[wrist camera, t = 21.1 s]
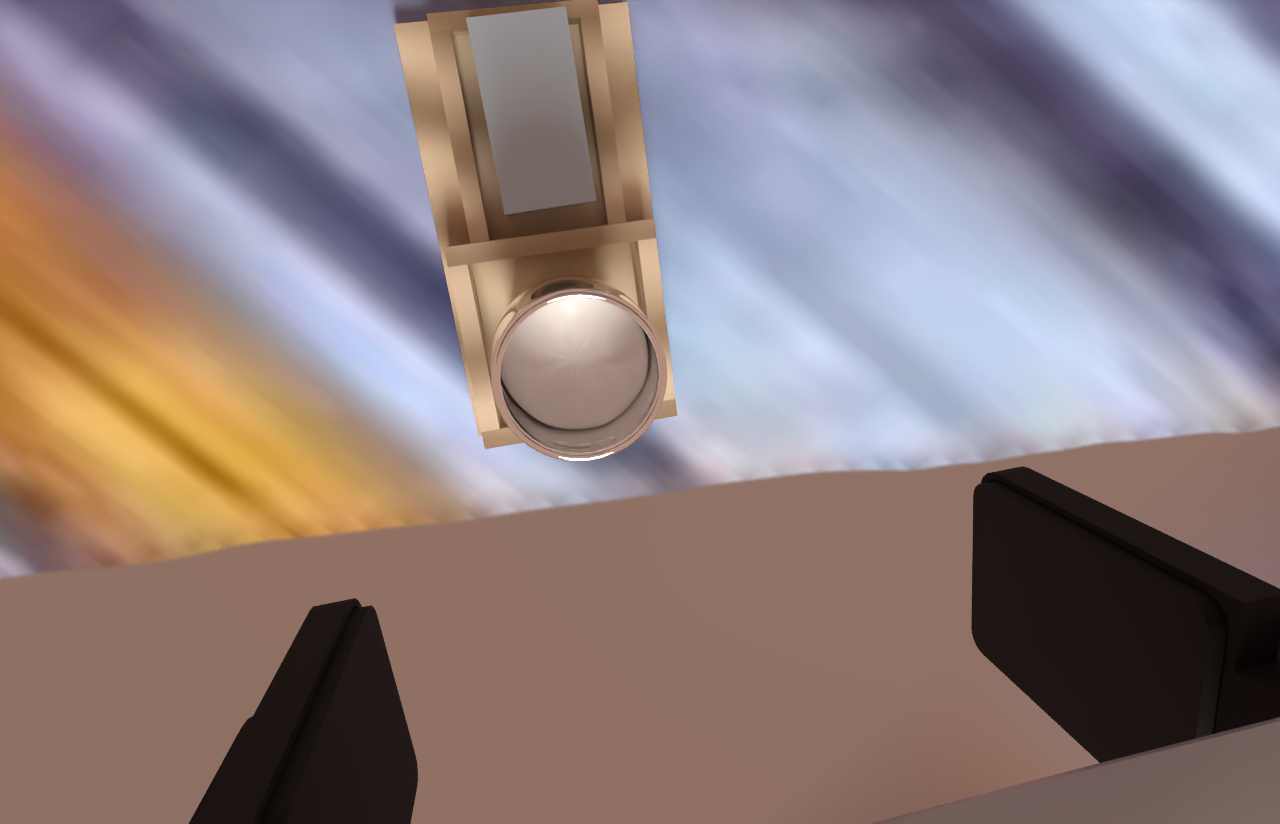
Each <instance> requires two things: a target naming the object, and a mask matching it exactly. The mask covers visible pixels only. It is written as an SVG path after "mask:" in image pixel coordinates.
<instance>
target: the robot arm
mask: <svg viewBox="0 0 1280 824" xmlns="http://www.w3.org/2000/svg"><path fill="white" fill-rule="evenodd" d="M972 635H973V638H974V641H975V643H976V645H977V647H978V649H979V650H980V651H981V652H982V653H983V655H984V656H986V658H988V659H989V660H990V661H991V662H992V663H993V664H994V665H995V666H996V667H997V668H998V669H999V670H1000V671H1002V672H1003V673H1004V674H1005V675H1006V676H1007V677H1008V678H1009V679H1010V680H1011V681H1012V682H1013V683H1014V684H1016V685H1017V686H1018V687H1019V688H1020V689H1021V690H1022V691H1023V692H1024V693H1025V694H1026V695H1028V696H1029V697H1030V698H1031V699H1032V700H1033V701H1034V702H1035V703H1036V704H1037V705H1038V706H1039V707H1040V708H1041V709H1043V710H1044V711H1045V712H1046V713H1047V714H1048V715H1049V716H1050V717H1051V718H1052V719H1053V720H1054V721H1055V722H1057V723H1058V724H1059V725H1060V726H1061V727H1062V728H1063V729H1064V730H1065V731H1066V732H1067V733H1068V734H1069V735H1070V736H1072V737H1073V738H1074V739H1075V740H1076V741H1077V742H1078V743H1079V744H1080V745H1081V746H1082V747H1084V749H1086V750H1087V751H1088V752H1089V753H1090V754H1091V755H1092V756H1093V757H1094V758H1095V759H1096V760H1097V761H1099V762H1100V763H1099V764H1094V765H1091V766H1087V767H1083V768H1079V769H1075V770H1071V771H1067V772H1063V773H1059V774H1055V775H1052V776H1048V777H1044V778H1040V779H1036V780H1032V781H1028V782H1024V783H1020V784H1017V785H1013V786H1009V787H1005V788H1001V789H998V790H994V791H990V792H986V793H982V794H978V795H975V796H971V797H967V798H963V799H959V800H956V801H952V802H948V803H944V804H940V805H936V806H932V807H929V808H925V809H921V810H917V811H913V812H910V813H906V814H902V815H898V816H894V817H891V818H887V819H883V820H879V821H875V822H872V823H868V824H1280V589H1279V588H1277V587H1275V586H1273V585H1271V584H1269V583H1267V582H1264V581H1262V580H1260V579H1258V578H1256V577H1254V576H1252V575H1250V574H1248V573H1246V572H1244V571H1242V570H1240V569H1237V568H1235V567H1233V566H1231V565H1229V564H1227V563H1225V562H1223V561H1221V560H1219V559H1217V558H1214V557H1213V556H1210V555H1208V554H1206V553H1204V552H1202V551H1200V550H1198V549H1196V548H1194V547H1192V546H1190V545H1187V544H1185V543H1183V542H1181V541H1179V540H1177V539H1175V538H1173V537H1171V536H1169V535H1167V534H1164V533H1163V532H1161V531H1158V530H1156V529H1154V528H1152V527H1150V526H1148V525H1146V524H1144V523H1142V522H1139V521H1138V520H1136V519H1133V518H1131V517H1129V516H1127V515H1125V514H1123V513H1121V512H1119V511H1117V510H1115V509H1113V508H1110V507H1108V506H1106V505H1104V504H1102V503H1100V502H1098V501H1096V500H1094V499H1092V498H1090V497H1088V496H1086V495H1083V494H1081V493H1079V492H1077V491H1075V490H1073V489H1071V488H1069V487H1067V486H1064V485H1063V484H1061V483H1058V482H1056V481H1054V480H1052V479H1050V478H1048V477H1046V476H1044V475H1042V474H1040V473H1038V472H1036V471H1034V470H1032V469H1029V468H1026V467H1017V468H1012V469H1007V470H1002V471H998V472H992V473H987V474H986V475H985V476H984V477H983V479H982V481H981V484H979V485H977V486H976V488H975V490H974V495H973V563H972ZM417 781H418V769H417V761H416V756H415V752H414V748H413V745H412V741H411V737H410V734H409V730H408V726H407V723H406V719H405V715H404V712H403V708H402V705H401V701H400V697H399V694H398V690H397V686H396V682H395V679H394V675H393V672H392V668H391V664H390V661H389V657H388V654H387V650H386V646H385V642H384V639H383V635H382V631H381V628H380V624H379V620H378V617H377V614H376V611H375V609H374V607H373V606H366V607H362V606H361V604H360V603H359V601H358V600H357V599H349V600H344V601H339V602H334V603H329V604H324V605H319V606H314V607H312V609H311V610H310V611H309V613H308V615H307V617H306V619H305V621H304V622H303V624H302V626H301V628H300V630H299V632H298V634H297V635H296V637H295V639H294V641H293V643H292V645H291V647H290V648H289V650H288V652H287V654H286V656H285V658H284V660H283V662H282V663H281V665H280V667H279V669H278V671H277V673H276V675H275V676H274V678H273V680H272V682H271V684H270V686H269V688H268V690H267V691H266V693H265V695H264V697H263V699H262V701H261V702H260V704H259V706H258V708H257V710H256V712H255V714H254V716H252V717H251V718H249V719H248V720H247V721H246V722H245V724H244V725H243V727H242V728H241V729H240V732H239V733H238V735H237V737H236V738H235V740H234V742H233V744H232V746H231V748H230V749H229V751H228V753H227V755H226V757H225V759H224V760H223V762H222V764H221V766H220V768H219V770H218V771H217V773H216V775H215V777H214V779H213V780H212V782H211V784H210V786H209V788H208V790H207V791H206V793H205V795H204V797H203V799H202V800H201V802H200V804H199V806H198V808H197V810H196V811H195V813H194V815H193V817H192V819H191V821H190V822H189V824H410V823H411V817H412V811H413V806H414V801H415V795H416V789H417Z"/></svg>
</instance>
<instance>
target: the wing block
mask: <svg viewBox="0 0 1280 824" xmlns="http://www.w3.org/2000/svg"><path fill="white" fill-rule="evenodd" d="M466 21H467V26H468V31H469V36H470V42H471V47H472V52H473V57H474V62H475V67H476V72H477V77H478V82H479V87H480V92H481V97H482V102H483V107H484V112H485V118H486V123H487V128H488V133H489V138H490V143H491V148H492V153H493V158H494V163H495V168H496V173H497V178H498V183H499V188H500V194H501V199H502V204H503V209H504V214H505V215H506V216H508V215H515V214H521V213H528V212H534V211H541V210H547V209H554V208H560V207H567V206H573V205H580V204H587V203H590V202H593V201H596V194H595V187H594V181H593V175H592V169H591V162H590V156H589V150H588V143H587V137H586V131H585V125H584V118H583V112H582V106H581V99H580V93H579V87H578V81H577V74H576V68H575V62H574V55H573V49H572V43H571V37H570V30H569V24H568V18H567V11H566V6H563V7H555V8H546V9H537V10H529V11H520V12H512V13H503V14H494V15H486V16H477V17H468V18H466Z"/></svg>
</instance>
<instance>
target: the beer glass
mask: <svg viewBox="0 0 1280 824" xmlns="http://www.w3.org/2000/svg"><path fill="white" fill-rule="evenodd" d="M491 383H492V391H493V395H494V399H495V402H496V405H497V408H498V410H499V412H500V414H501V416H502V418H503V420H504V421H505V423H506V424H507V425H508V427H509V428H510V429H511V430H512V432H513V433H514V434H515V435H516V436H517V437H518V438H519V439H520V440H522V441H523V442H524V443H525V444H527V445H528V446H530V447H531V448H533V449H535V450H536V451H538V452H540V453H542V454H545V455H547V456H550V457H553V458H557V459H562V460H568V461H589V460H595V459H600V458H604V457H607V456H610V455H612V454H615V453H617V452H619V451H621V450H623V449H625V448H626V447H628V446H629V445H631V444H632V443H633V442H635V441H636V440H637V439H638V438H639V437H640V436H641V435H642V434H643V433H644V432H645V431H646V430H647V429H648V428H649V426H650V425H651V424H652V422H653V421H654V419H655V417H656V416H657V414H658V412H659V410H660V408H661V405H662V402H663V399H664V396H665V392H666V386H667V362H666V356H665V352H664V349H663V346H662V343H661V340H660V338H659V336H658V334H657V332H656V331H655V329H654V327H653V326H652V325H651V323H650V322H649V321H648V319H647V318H646V316H645V315H644V313H643V312H642V310H641V309H640V308H639V307H638V306H637V305H636V304H635V303H634V302H633V301H632V300H631V299H630V298H629V297H628V296H627V295H626V294H625V293H623V292H622V291H621V290H619V289H618V288H616V287H614V286H613V285H611V284H609V283H607V282H604V281H602V280H599V279H596V278H593V277H589V276H584V275H579V274H575V273H571V272H554V273H549V274H546V275H543V276H541V277H538V278H537V279H535V280H533V281H532V282H530V283H529V284H528V285H527V286H526V287H525V288H524V289H523V290H522V291H521V292H520V294H519V295H518V296H517V297H516V298H515V299H514V300H513V301H512V303H511V304H510V305H509V306H508V308H507V309H506V311H505V312H504V314H503V315H502V317H501V319H500V321H499V323H498V325H497V328H496V331H495V334H494V338H493V342H492V349H491Z"/></svg>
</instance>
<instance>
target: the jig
mask: <svg viewBox="0 0 1280 824" xmlns="http://www.w3.org/2000/svg"><path fill="white" fill-rule="evenodd" d="M563 6H566V11H567V18H568V24H569V30H570V37H571V43H572V49H573V55H574V62H575V68H576V74H577V81H578V87H579V93H580V99H581V106H582V112H583V118H584V125H585V131H586V137H587V143H588V150H589V156H590V162H591V169H592V175H593V181H594V187H595V194H596V201H593V202H590V203H587V204H580V205H573V206H567V207H560V208H554V209H547V210H541V211H534V212H528V213H521V214H515V215H508V216H506V215H505V214H504V209H503V204H502V199H501V194H500V188H499V183H498V178H497V173H496V168H495V163H494V158H493V153H492V148H491V143H490V138H489V133H488V128H487V123H486V118H485V112H484V107H483V102H482V97H481V92H480V87H479V82H478V77H477V72H476V67H475V62H474V57H473V52H472V47H471V42H470V36H469V31H468V26H467V21H466V18H468V17H477V16H486V15H494V14H503V13H512V12H520V11H529V10H537V9H546V8H555V7H563ZM426 16H427V21H420V22H409V23H398V24H394V28H395V33H396V38H397V43H398V47H399V52H400V57H401V62H402V67H403V72H404V76H405V81H406V86H407V91H408V96H409V101H410V106H411V110H412V115H413V120H414V125H415V130H416V135H417V139H418V144H419V149H420V154H421V159H422V164H423V168H424V173H425V178H426V183H427V188H428V193H429V198H430V202H431V207H432V212H433V217H434V222H435V227H436V231H437V236H438V241H439V246H440V251H441V256H442V261H443V265H444V270H445V275H446V280H447V285H448V290H449V294H450V299H451V304H452V309H453V314H454V319H455V323H456V328H457V333H458V338H459V343H460V348H461V353H462V357H463V362H464V367H465V372H466V377H467V382H468V386H469V391H470V396H471V401H472V406H473V411H474V416H475V420H476V425H477V430H478V435H479V436H481V435H482V437H483V442H484V447H485V449H489V448H494V447H500V446H506V445H512V444H517V443H523V441H522V440H520V439H519V438H518V437H517V436H516V435H515V434H514V433H513V432H512V430H511V429H510V428H509V427H508V425H507V424H506V423H505V421H504V420H503V418H502V416H501V414H500V412H499V410H498V408H497V405H496V402H495V399H494V395H493V391H492V383H491V349H492V342H493V338H494V334H495V331H496V328H497V325H498V323H499V321H500V319H501V317H502V315H503V314H504V312H505V311H506V309H507V308H508V306H509V305H510V304H511V303H512V301H513V300H514V299H515V298H516V297H517V296H518V295H519V294H520V292H521V291H522V290H523V289H524V288H525V287H526V286H527V285H528V284H529V283H530V282H532V281H533V280H535V279H537V278H538V277H541V276H543V275H546V274H549V273H554V272H571V273H575V274H579V275H584V276H589V277H593V278H596V279H599V280H602V281H604V282H607V283H609V284H611V285H613V286H614V287H616V288H618V289H619V290H621V291H622V292H623V293H625V294H626V295H627V296H628V297H629V298H630V299H631V300H632V301H633V302H634V303H635V304H636V305H637V306H638V307H639V308H640V309H641V310H642V312H643V313H644V315H645V316H646V318H647V319H648V321H649V322H650V323H651V325H652V326H653V327H654V329H655V331H656V332H657V334H658V336H659V338H660V340H661V343H662V346H663V349H664V352H665V356H666V362H667V386H666V392H665V396H664V399H663V402H662V405H661V408H660V410H659V412H658V414H657V416H656V417H655V419H660V418H666V417H672V416H677V410H676V402H675V393H674V385H673V376H672V368H671V360H670V351H669V343H668V334H667V326H666V317H665V309H664V300H663V292H662V283H661V275H660V266H659V258H658V249H657V241H656V232H655V224H654V219H653V213H652V204H651V196H650V187H649V179H648V170H647V162H646V153H645V145H644V136H643V128H642V119H641V111H640V102H639V94H638V86H637V77H636V69H635V60H634V52H633V43H632V35H631V26H630V18H629V9H628V2H623V3H612V4H601V5H598V0H568V1H558V2H547V3H536V4H525V5H514V6H503V7H493V8H482V9H471V10H460V11H449V12H438V13H428V14H426Z"/></svg>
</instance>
